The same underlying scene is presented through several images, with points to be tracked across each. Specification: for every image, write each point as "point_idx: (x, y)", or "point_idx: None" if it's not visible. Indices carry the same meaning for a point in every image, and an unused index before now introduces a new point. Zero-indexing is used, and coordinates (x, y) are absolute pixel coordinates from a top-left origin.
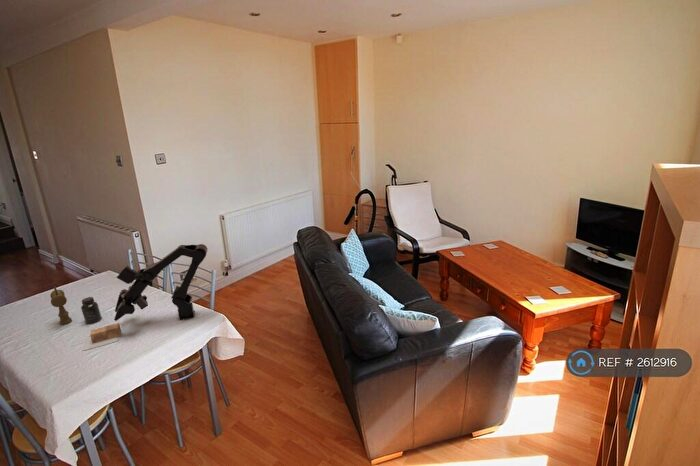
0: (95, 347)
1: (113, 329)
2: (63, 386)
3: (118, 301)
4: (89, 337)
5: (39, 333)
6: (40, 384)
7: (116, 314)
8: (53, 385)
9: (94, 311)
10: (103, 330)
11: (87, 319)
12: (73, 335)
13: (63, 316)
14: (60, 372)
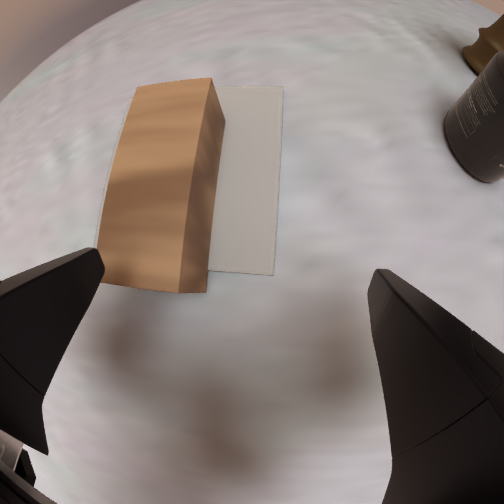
0: (116, 145)
1: (101, 236)
2: (8, 112)
3: (470, 398)
4: (257, 101)
5: (417, 7)
6: (59, 54)
7: (7, 284)
8: (29, 86)
9: (496, 118)
10: (126, 159)
11: (458, 101)
12: (347, 52)
13: (482, 39)
14: (63, 76)
